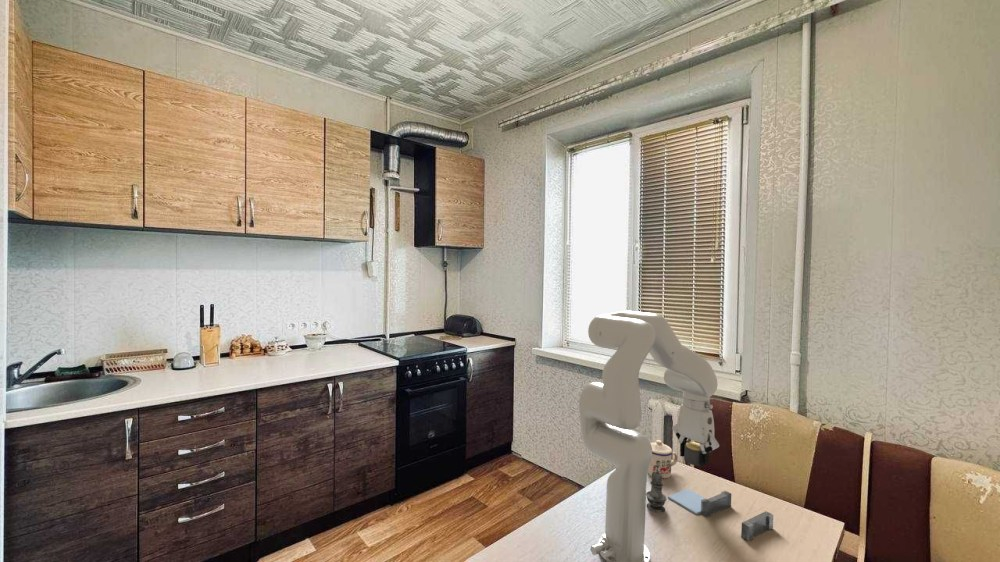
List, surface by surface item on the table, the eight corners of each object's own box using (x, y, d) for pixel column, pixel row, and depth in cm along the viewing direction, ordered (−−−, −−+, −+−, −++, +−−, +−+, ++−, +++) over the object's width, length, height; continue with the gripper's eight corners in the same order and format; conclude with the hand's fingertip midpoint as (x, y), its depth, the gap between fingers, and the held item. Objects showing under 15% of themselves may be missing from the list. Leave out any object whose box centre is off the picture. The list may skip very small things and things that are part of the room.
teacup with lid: (653, 480, 138) (654, 446, 137) (639, 467, 147) (640, 436, 146) (684, 478, 140) (685, 445, 139) (669, 465, 148) (670, 434, 148)
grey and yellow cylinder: (697, 467, 121) (698, 451, 121) (680, 459, 126) (680, 443, 126) (709, 463, 124) (710, 447, 124) (691, 455, 129) (692, 439, 129)
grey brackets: (748, 541, 107) (749, 526, 107) (700, 513, 119) (701, 500, 119) (772, 528, 113) (773, 514, 112) (724, 503, 125) (725, 490, 125)
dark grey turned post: (668, 515, 118) (669, 475, 117) (647, 512, 119) (648, 472, 119) (664, 503, 123) (665, 465, 123) (644, 501, 125) (645, 463, 124)
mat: (696, 515, 118) (696, 513, 118) (667, 497, 127) (667, 496, 127) (716, 506, 123) (716, 504, 123) (687, 490, 132) (687, 488, 132)
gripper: (730, 410, 118) (727, 469, 119) (679, 394, 133) (677, 446, 134) (714, 414, 115) (712, 475, 115) (664, 396, 130) (662, 451, 130)
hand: (693, 459), depth 125 cm, fingers closed on grey and yellow cylinder, 6 cm apart
